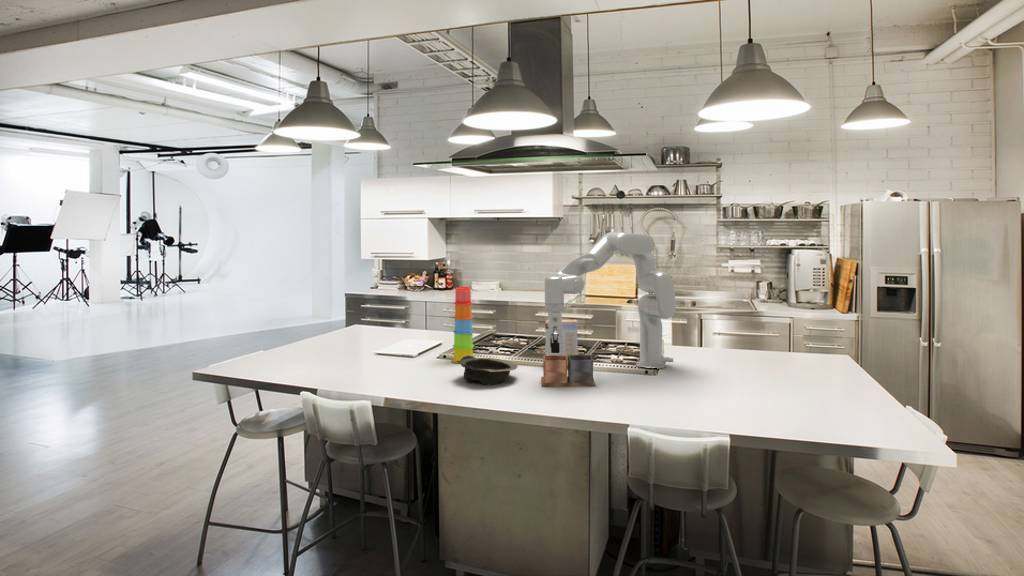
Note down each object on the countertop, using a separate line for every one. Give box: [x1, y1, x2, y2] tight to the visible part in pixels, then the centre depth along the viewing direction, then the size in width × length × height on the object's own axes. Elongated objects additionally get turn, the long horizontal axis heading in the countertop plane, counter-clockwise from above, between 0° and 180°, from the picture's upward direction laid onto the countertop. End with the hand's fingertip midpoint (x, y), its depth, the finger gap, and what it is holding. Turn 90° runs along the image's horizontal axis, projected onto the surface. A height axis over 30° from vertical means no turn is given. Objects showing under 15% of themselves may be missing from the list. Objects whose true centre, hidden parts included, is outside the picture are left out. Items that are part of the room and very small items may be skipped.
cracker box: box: [544, 319, 579, 369], centre depth 267 cm, size 14×6×21 cm, turn 84°
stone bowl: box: [456, 355, 519, 386], centre depth 249 cm, size 25×25×9 cm
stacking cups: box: [452, 286, 475, 364], centre depth 281 cm, size 10×10×35 cm
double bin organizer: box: [540, 354, 597, 388], centre depth 242 cm, size 21×11×10 cm, turn 88°
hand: (554, 350), depth 241 cm, fingers open, 9 cm apart
